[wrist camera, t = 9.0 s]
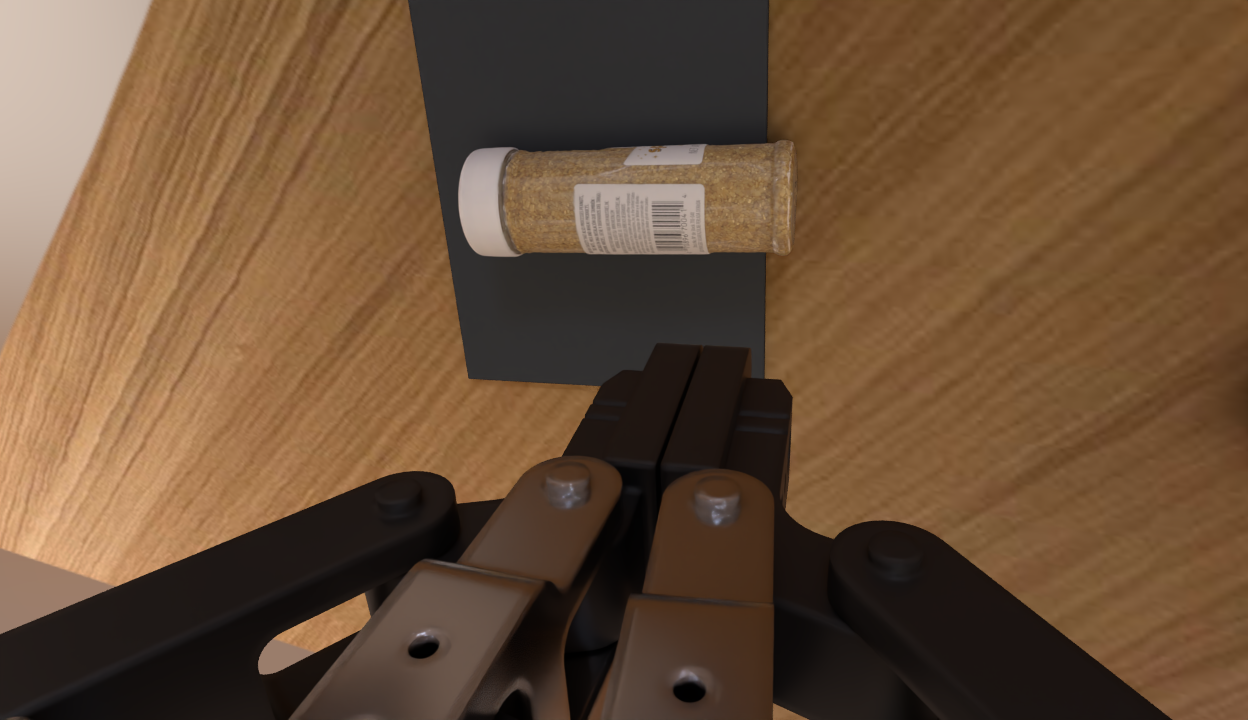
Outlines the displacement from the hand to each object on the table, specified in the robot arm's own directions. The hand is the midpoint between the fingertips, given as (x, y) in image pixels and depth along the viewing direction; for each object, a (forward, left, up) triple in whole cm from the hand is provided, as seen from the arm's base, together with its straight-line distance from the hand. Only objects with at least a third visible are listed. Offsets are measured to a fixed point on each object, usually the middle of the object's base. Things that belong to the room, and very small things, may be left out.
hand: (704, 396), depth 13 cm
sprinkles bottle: (+2, +1, -21) cm, 21 cm away
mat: (+2, -8, -23) cm, 25 cm away
